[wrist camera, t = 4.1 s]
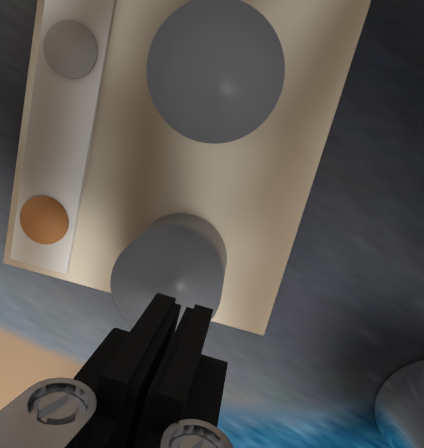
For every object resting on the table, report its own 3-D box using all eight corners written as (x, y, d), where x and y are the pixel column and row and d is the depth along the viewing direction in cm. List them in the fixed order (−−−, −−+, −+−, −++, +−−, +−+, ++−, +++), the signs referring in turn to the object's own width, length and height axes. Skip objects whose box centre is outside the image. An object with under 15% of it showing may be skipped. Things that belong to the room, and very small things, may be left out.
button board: (416, -155, 16) (433, -185, 14) (262, 326, 21) (263, 340, 19) (82, -236, 16) (65, -273, 14) (14, 257, 21) (-3, 266, 20)
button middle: (289, 45, 16) (303, 15, 12) (258, 153, 17) (262, 158, 13) (183, 18, 16) (163, -20, 12) (160, 127, 17) (133, 124, 13)
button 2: (237, 226, 18) (234, 251, 15) (214, 308, 19) (206, 352, 16) (148, 202, 19) (122, 220, 15) (130, 285, 20) (101, 323, 16)
